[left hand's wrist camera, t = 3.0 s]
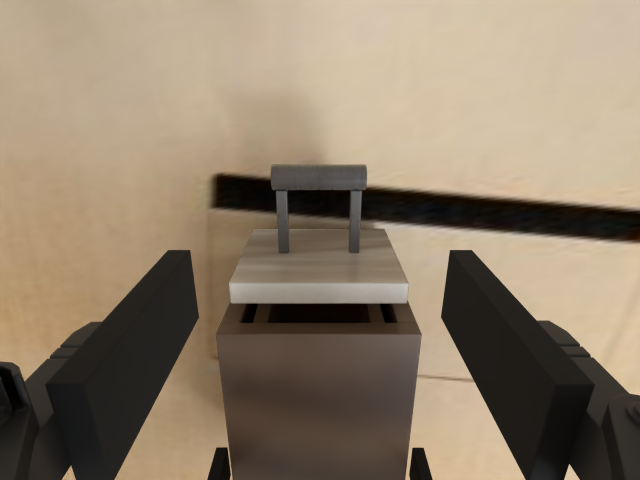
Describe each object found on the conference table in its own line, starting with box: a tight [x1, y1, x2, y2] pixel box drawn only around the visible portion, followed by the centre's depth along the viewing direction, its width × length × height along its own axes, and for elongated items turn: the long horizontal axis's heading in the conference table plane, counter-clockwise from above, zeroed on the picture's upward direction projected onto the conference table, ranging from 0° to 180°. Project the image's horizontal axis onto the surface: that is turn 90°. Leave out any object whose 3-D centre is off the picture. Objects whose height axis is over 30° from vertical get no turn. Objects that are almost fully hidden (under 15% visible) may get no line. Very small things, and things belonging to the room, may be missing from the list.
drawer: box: [229, 165, 409, 323], centre depth 25 cm, size 22×9×8 cm, turn 0°
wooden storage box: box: [216, 300, 422, 480], centre depth 27 cm, size 18×10×10 cm, turn 0°
